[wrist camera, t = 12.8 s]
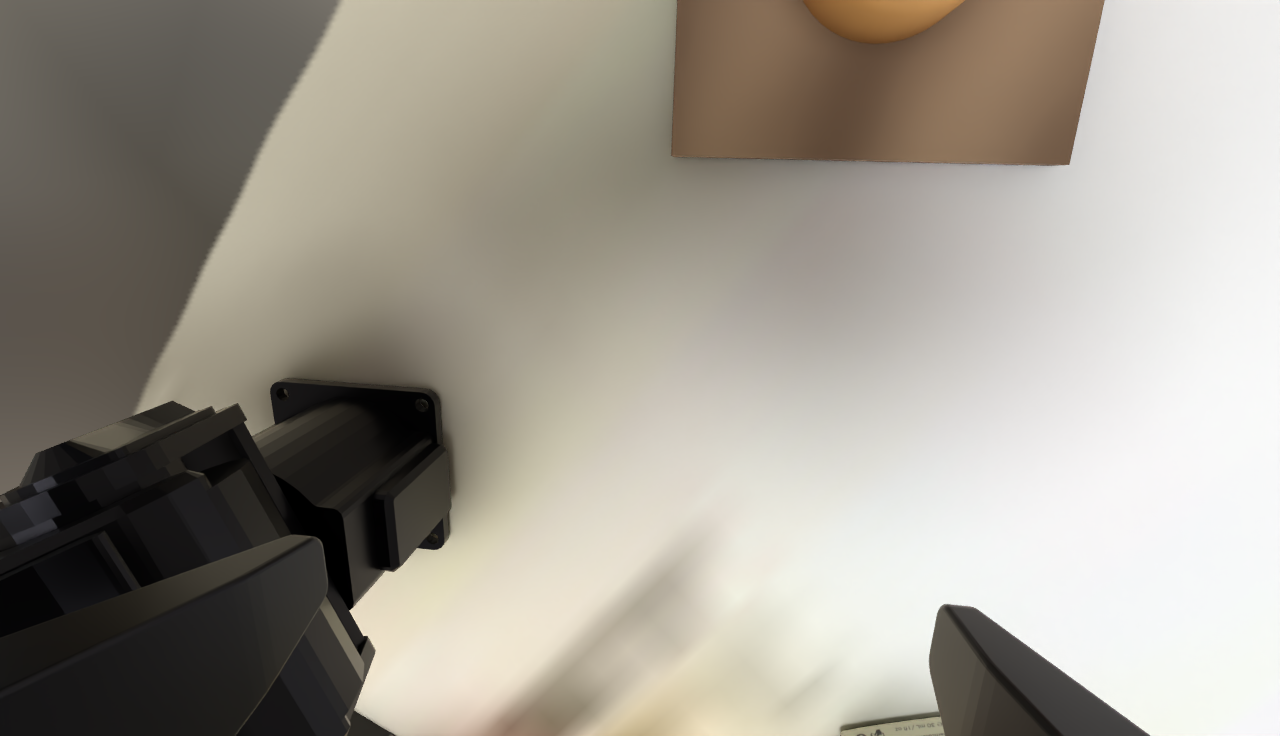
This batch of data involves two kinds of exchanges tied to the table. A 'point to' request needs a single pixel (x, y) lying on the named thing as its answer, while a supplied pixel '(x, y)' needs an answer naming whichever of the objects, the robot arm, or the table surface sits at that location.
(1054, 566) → the table surface
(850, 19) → the orange cylinder
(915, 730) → the skincare box
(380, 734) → the smart home device
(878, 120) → the walnut pad
